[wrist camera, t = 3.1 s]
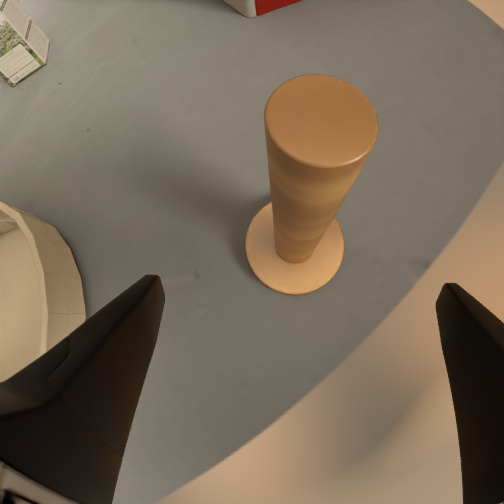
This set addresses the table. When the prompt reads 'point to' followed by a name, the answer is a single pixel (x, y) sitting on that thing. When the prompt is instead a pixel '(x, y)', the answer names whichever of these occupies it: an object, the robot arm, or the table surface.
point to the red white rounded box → (257, 6)
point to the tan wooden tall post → (308, 180)
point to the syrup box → (19, 43)
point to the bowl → (34, 290)
